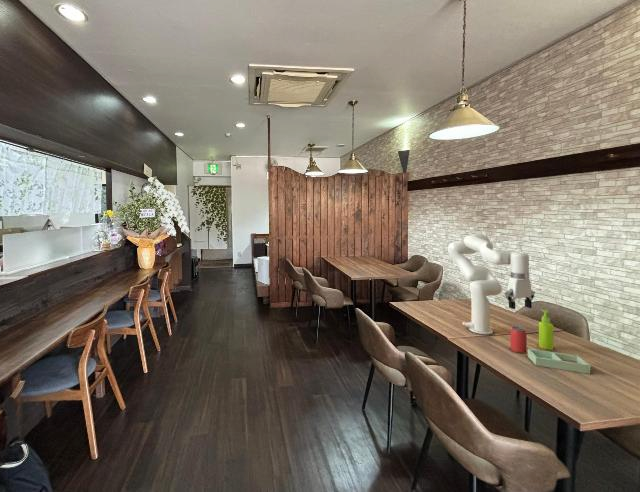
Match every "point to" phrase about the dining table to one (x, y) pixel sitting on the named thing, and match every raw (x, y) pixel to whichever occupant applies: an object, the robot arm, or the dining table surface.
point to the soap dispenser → (546, 332)
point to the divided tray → (558, 361)
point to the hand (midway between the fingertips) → (520, 307)
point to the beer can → (518, 340)
